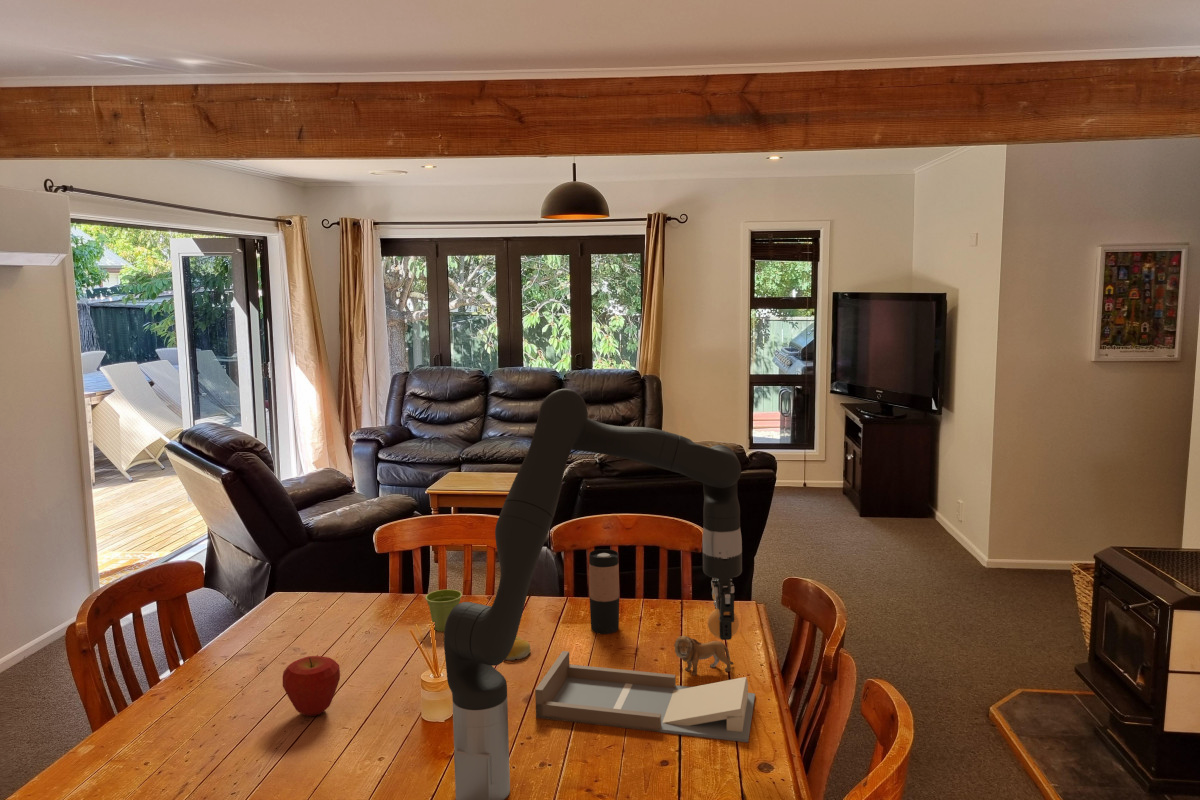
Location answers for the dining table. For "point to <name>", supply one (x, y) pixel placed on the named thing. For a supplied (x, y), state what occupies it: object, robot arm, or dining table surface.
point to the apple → (311, 683)
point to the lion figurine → (701, 652)
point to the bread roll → (519, 649)
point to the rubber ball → (715, 624)
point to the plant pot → (442, 605)
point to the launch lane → (644, 701)
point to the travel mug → (604, 590)
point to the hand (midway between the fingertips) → (723, 631)
